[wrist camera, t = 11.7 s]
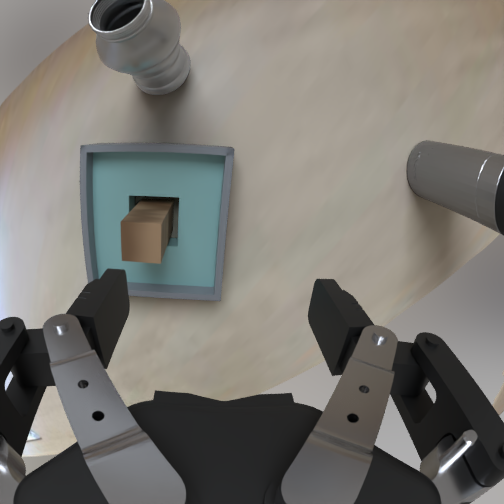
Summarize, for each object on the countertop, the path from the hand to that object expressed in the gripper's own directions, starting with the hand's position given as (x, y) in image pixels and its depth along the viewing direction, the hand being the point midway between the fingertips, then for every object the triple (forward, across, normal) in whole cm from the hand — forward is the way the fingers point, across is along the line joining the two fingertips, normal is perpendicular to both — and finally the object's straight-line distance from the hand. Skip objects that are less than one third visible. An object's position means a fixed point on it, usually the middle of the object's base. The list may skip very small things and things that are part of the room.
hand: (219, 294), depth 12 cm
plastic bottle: (+25, +8, -14) cm, 30 cm away
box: (+25, +8, +4) cm, 26 cm away
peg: (+25, +8, +4) cm, 26 cm away
